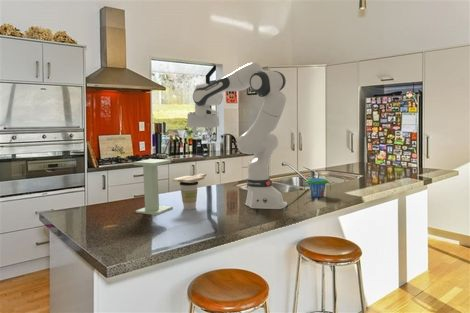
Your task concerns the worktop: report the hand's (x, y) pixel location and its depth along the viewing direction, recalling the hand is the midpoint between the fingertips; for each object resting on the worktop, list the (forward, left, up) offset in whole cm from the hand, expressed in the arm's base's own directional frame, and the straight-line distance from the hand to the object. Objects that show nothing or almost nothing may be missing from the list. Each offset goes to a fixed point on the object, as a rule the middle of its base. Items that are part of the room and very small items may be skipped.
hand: (203, 135), depth 223 cm
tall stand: (+8, +39, -37) cm, 55 cm away
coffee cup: (-7, +28, -37) cm, 47 cm away
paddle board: (-7, +24, -22) cm, 33 cm away
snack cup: (-63, -23, -37) cm, 77 cm away
